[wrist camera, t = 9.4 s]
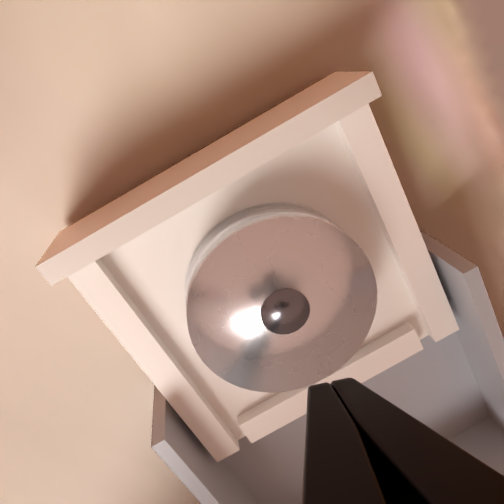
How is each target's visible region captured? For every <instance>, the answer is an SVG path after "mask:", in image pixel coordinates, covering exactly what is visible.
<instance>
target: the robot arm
mask: <svg viewBox="0 0 504 504" xmlns="http://www.w3.org/2000/svg"><path fill="white" fill-rule="evenodd" d="M301 504H504V475H502V474H501V473H499V472H498V471H496V470H494V469H493V468H491V467H490V466H488V465H487V464H485V463H484V462H482V461H481V460H479V459H477V458H476V457H474V456H473V455H471V454H470V453H468V452H467V451H465V450H464V449H462V448H460V447H459V446H457V445H456V444H454V443H453V442H451V441H450V440H448V439H447V438H445V437H443V436H442V435H440V434H439V433H437V432H436V431H434V430H433V429H431V428H430V427H428V426H426V425H425V424H423V423H422V422H420V421H419V420H417V419H416V418H414V417H413V416H411V415H409V414H408V413H406V412H405V411H403V410H402V409H400V408H399V407H397V406H396V405H394V404H392V403H391V402H389V401H388V400H386V399H385V398H383V397H382V396H380V395H379V394H377V393H375V392H374V391H372V390H371V389H369V388H368V387H366V386H365V385H363V384H362V383H360V382H358V381H357V380H355V379H354V378H344V379H339V380H334V381H332V382H331V384H330V383H327V382H325V383H320V384H315V385H311V386H309V387H308V394H307V412H306V430H305V448H304V466H303V484H302V502H301Z"/></svg>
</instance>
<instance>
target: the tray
mask: <svg viewBox="0 0 504 504" xmlns="http://www.w3.org/2000/svg"><path fill="white" fill-rule="evenodd" d="M381 96H382V94H381V92H380V89H379V86H378V84H377V81H376V79H375V76H374V73H373V71H352V72H334V73H332V74H330V75H328V76H327V77H325V78H323V79H321V80H320V81H318V82H316V83H315V84H313V85H311V86H309V87H308V88H306V89H304V90H303V91H301V92H299V93H297V94H296V95H294V96H292V97H291V98H289V99H287V100H285V101H284V102H282V103H280V104H278V105H277V106H275V107H273V108H272V109H270V110H268V111H266V112H265V113H263V114H261V115H260V116H258V117H256V118H254V119H253V120H251V121H249V122H248V123H246V124H244V125H242V126H241V127H239V128H237V129H236V130H234V131H232V132H230V133H229V134H227V135H225V136H223V137H222V138H220V139H218V140H217V141H215V142H213V143H211V144H210V145H208V146H206V147H205V148H203V149H201V150H199V151H198V152H196V153H194V154H193V155H191V156H189V157H187V158H186V159H184V160H182V161H180V162H179V163H177V164H175V165H174V166H172V167H170V168H168V169H167V170H165V171H163V172H162V173H160V174H158V175H156V176H155V177H153V178H151V179H150V180H148V181H146V182H144V183H143V184H141V185H139V186H137V187H136V188H134V189H132V190H131V191H129V192H127V193H125V194H124V195H122V196H120V197H119V198H117V199H115V200H113V201H112V202H110V203H108V204H107V205H105V206H103V207H101V208H100V209H98V210H96V211H94V212H93V213H91V214H89V215H88V216H86V217H84V218H82V219H81V220H79V221H77V222H76V223H74V224H72V225H70V226H69V227H67V228H65V229H64V230H62V231H60V232H59V233H58V235H57V236H56V238H55V239H54V241H53V242H52V243H51V245H50V246H49V248H48V249H47V251H46V252H45V253H44V255H43V256H42V258H41V259H40V261H39V262H38V263H37V265H36V266H35V268H36V269H37V270H38V271H39V273H40V274H41V275H42V276H43V277H44V278H45V280H46V281H47V282H48V283H49V284H50V286H53V285H55V284H56V283H58V282H60V281H61V280H63V279H65V278H68V279H69V280H70V281H71V283H72V284H73V285H74V286H75V288H76V289H77V290H78V291H79V292H80V294H81V295H82V296H83V297H84V299H85V300H86V301H87V302H88V304H89V305H90V306H91V307H92V308H93V310H94V311H95V312H96V313H97V315H98V316H99V317H100V318H101V320H102V321H103V322H104V323H105V325H106V326H107V327H108V328H109V329H110V331H111V332H112V333H113V334H114V336H115V337H116V338H117V339H118V341H119V342H120V343H121V344H122V345H123V347H124V348H125V349H126V350H127V352H128V353H129V354H130V355H131V357H132V358H133V359H134V360H135V362H136V363H137V364H138V365H139V366H140V368H141V369H142V370H143V371H144V373H145V374H146V375H147V376H148V378H149V379H150V380H151V381H152V382H153V384H154V385H155V386H156V387H157V389H158V390H159V391H160V392H161V394H162V395H163V396H164V397H165V398H166V400H167V401H168V402H169V403H170V405H171V406H172V407H173V408H174V410H175V411H176V412H177V413H178V415H179V416H180V417H181V418H182V419H183V421H184V422H185V423H186V424H187V426H188V427H189V428H190V429H191V431H192V432H193V433H194V434H195V435H196V437H197V438H198V439H199V440H200V442H201V443H202V444H203V445H204V447H205V448H206V449H207V450H208V452H209V453H210V454H211V455H212V456H213V458H214V459H215V460H216V461H217V462H219V461H221V460H223V459H224V458H226V457H228V456H230V455H232V454H233V453H235V452H237V451H239V450H240V448H239V443H238V440H239V439H241V438H243V437H244V436H246V437H247V438H248V439H249V441H250V442H251V443H254V442H255V441H257V440H259V439H261V438H263V437H264V436H266V435H268V434H270V433H272V432H274V431H275V430H277V429H279V428H281V427H283V426H284V425H286V424H288V423H290V422H292V421H294V420H295V419H297V418H299V417H301V416H303V415H305V414H306V412H307V394H308V387H309V386H311V385H309V386H306V387H303V388H300V389H296V390H291V391H286V392H274V393H272V392H258V391H251V390H247V389H244V388H240V387H238V386H235V385H233V384H231V383H229V382H227V381H225V380H223V379H222V378H220V377H219V376H217V375H216V374H215V373H214V372H212V371H211V370H210V369H209V368H208V367H207V366H206V365H205V364H204V362H203V361H202V360H201V358H200V357H199V355H198V354H197V352H196V350H195V348H194V346H193V344H192V341H191V338H190V335H189V331H188V325H187V317H186V304H185V280H186V274H187V270H188V267H189V263H190V261H191V259H192V256H193V254H194V252H195V251H196V249H197V247H198V246H199V244H200V243H201V241H202V240H203V239H204V238H205V236H206V235H207V234H208V233H209V232H210V231H211V230H212V229H213V228H214V227H215V226H216V225H218V224H219V223H220V222H222V221H223V220H224V219H226V218H227V217H229V216H231V215H233V214H234V213H236V212H238V211H241V210H243V209H246V208H248V207H252V206H256V205H260V204H266V203H291V204H297V205H301V206H305V207H308V208H310V209H313V210H315V211H317V212H319V213H321V214H322V215H324V216H326V217H327V218H329V219H330V220H331V221H332V222H333V223H335V224H336V225H337V226H338V227H339V228H340V229H342V230H343V231H344V232H345V233H346V234H347V235H348V236H350V237H351V238H352V239H353V240H354V241H355V242H356V243H357V244H358V245H359V246H360V248H361V249H362V250H363V252H364V253H365V255H366V256H367V258H368V259H369V262H370V264H371V266H372V268H373V271H374V275H375V278H376V285H377V306H376V313H375V316H374V320H373V323H372V326H371V328H370V330H369V333H368V335H367V336H366V338H365V340H364V342H363V343H362V345H361V346H360V347H359V349H358V350H357V351H356V353H355V354H354V355H353V356H352V357H351V358H350V359H349V360H348V361H347V362H346V363H345V364H344V365H343V366H342V367H341V368H339V369H338V370H337V371H335V372H334V373H332V374H331V375H330V376H328V377H326V378H324V379H322V380H321V381H319V382H316V383H314V384H312V385H315V384H320V383H325V382H327V383H330V384H331V382H332V381H334V380H339V379H344V378H354V379H355V380H357V381H358V382H360V383H363V382H365V381H366V380H368V379H370V378H372V377H374V376H376V375H377V374H379V373H381V372H383V371H385V370H386V369H388V368H390V367H392V366H394V365H396V364H397V363H399V362H401V361H403V360H405V359H406V358H408V357H410V356H412V355H414V354H416V353H417V352H419V351H421V350H423V346H422V344H421V342H420V340H421V339H423V338H424V337H426V336H428V335H429V336H430V337H431V338H432V339H433V340H434V341H435V342H437V341H439V340H441V339H443V338H445V337H447V336H448V335H450V334H452V333H454V332H456V331H457V330H459V327H458V325H457V322H456V320H455V317H454V315H453V312H452V310H451V307H450V305H449V302H448V300H447V297H446V295H445V292H444V290H443V287H442V285H441V282H440V280H439V277H438V275H437V272H436V270H435V267H434V265H433V262H432V260H431V257H430V255H429V252H428V250H427V247H426V245H425V243H424V240H423V238H422V235H421V233H420V230H419V228H418V225H417V223H416V220H415V218H414V215H413V213H412V210H411V208H410V205H409V203H408V200H407V198H406V195H405V193H404V190H403V188H402V185H401V183H400V180H399V178H398V175H397V173H396V170H395V168H394V165H393V163H392V160H391V158H390V155H389V153H388V150H387V148H386V146H385V143H384V141H383V138H382V136H381V133H380V131H379V128H378V126H377V123H376V121H375V118H374V116H373V113H372V111H371V108H370V106H369V103H370V102H372V101H374V100H375V99H377V98H379V97H381Z"/></svg>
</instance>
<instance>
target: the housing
mask: <svg viewBox="0 0 504 504" xmlns="http://www.w3.org/2000/svg"><path fill="white" fill-rule="evenodd" d="M421 235H422V238H423V240H424V243H425V245H426V247H427V250H428V252H429V255H430V257H431V260H432V262H433V265H434V267H435V270H436V272H437V275H438V277H439V280H440V282H441V285H442V287H443V290H444V292H445V295H446V297H447V300H448V302H449V305H450V307H451V310H452V312H453V315H454V317H455V320H456V322H457V325H458V327H459V330H457V331H456V332H454V333H452V334H450V335H448V336H447V337H445V338H443V339H441V340H439V341H437V342H435V341H434V340H433V339H432V338H431V337H430V336H429V335H428V336H426V337H424V338H423V339H421V340H420V342H421V344H422V346H423V350H421V351H419V352H417V353H416V354H414V355H412V356H410V357H408V358H406V359H405V360H403V361H401V362H399V363H397V364H396V365H394V366H392V367H390V368H388V369H386V370H385V371H383V372H381V373H379V374H377V375H376V376H374V377H372V378H370V379H368V380H366V381H365V382H363V383H362V384H363V385H365V386H366V387H368V388H369V389H371V390H372V391H374V392H375V393H377V394H379V395H380V396H382V397H383V398H385V399H386V400H388V401H389V402H391V403H392V404H394V405H396V406H397V407H399V408H400V409H402V410H403V411H405V412H406V413H408V414H409V415H411V416H413V417H414V418H416V419H417V420H419V421H420V422H422V423H423V424H425V425H426V426H428V427H430V428H431V429H433V430H434V431H436V432H437V433H439V434H440V435H442V436H443V437H445V438H447V439H448V440H450V441H451V442H453V443H454V444H456V445H457V446H459V447H460V448H462V449H464V450H465V451H467V452H468V453H470V454H471V455H473V456H474V457H476V458H477V459H479V460H481V461H482V462H484V463H485V464H487V465H488V466H490V467H491V468H493V469H494V470H496V471H498V472H499V473H501V474H502V475H504V338H503V335H502V333H501V330H500V327H499V324H498V321H497V318H496V316H495V313H494V310H493V307H492V304H491V302H490V299H489V296H488V293H487V290H486V287H485V285H484V282H483V279H482V276H481V273H480V270H479V268H478V266H477V265H476V264H474V263H472V262H471V261H469V260H468V259H466V258H464V257H463V256H461V255H460V254H458V253H457V252H455V251H453V250H452V249H450V248H449V247H447V246H445V245H444V244H442V243H441V242H439V241H437V240H436V239H434V238H433V237H431V236H430V235H428V234H426V233H425V232H421ZM305 430H306V414H305V415H303V416H301V417H299V418H297V419H295V420H294V421H292V422H290V423H288V424H286V425H284V426H283V427H281V428H279V429H277V430H275V431H274V432H272V433H270V434H268V435H266V436H264V437H263V438H261V439H259V440H257V441H255V442H254V443H251V442H250V441H249V439H248V438H247V437H246V436H244V437H243V438H241V439H239V440H238V443H239V448H240V450H239V451H237V452H235V453H233V454H232V455H230V456H228V457H226V458H224V459H223V460H221V461H219V462H217V461H216V460H215V459H214V458H213V456H212V455H211V454H210V453H209V452H208V450H207V449H206V448H205V447H204V445H203V444H202V443H201V442H200V440H199V439H198V438H197V437H196V435H195V434H194V433H193V432H192V431H191V429H190V428H189V427H188V426H187V424H186V423H185V422H184V421H183V419H182V418H181V417H180V416H179V415H178V413H177V412H176V411H175V410H174V408H173V407H172V406H171V405H170V403H169V402H168V401H167V400H166V398H165V397H164V396H163V395H162V394H161V392H160V391H159V390H158V389H157V387H156V386H155V385H154V402H153V421H152V439H151V448H152V449H153V450H154V451H155V452H156V453H157V454H158V456H159V457H160V458H161V459H162V460H163V461H164V462H165V464H166V465H167V466H168V467H169V468H170V469H171V470H172V471H173V473H174V474H175V475H176V476H177V477H178V478H179V479H180V480H181V482H182V483H183V484H184V485H185V486H186V487H187V488H188V490H189V491H190V492H191V493H192V494H193V495H194V496H195V497H196V499H197V500H198V501H199V502H200V503H201V504H301V502H302V484H303V466H304V448H305Z"/></svg>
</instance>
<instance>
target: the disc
mask: <svg viewBox="0 0 504 504" xmlns="http://www.w3.org/2000/svg"><path fill="white" fill-rule="evenodd" d="M185 304H186V317H187V325H188V331H189V335H190V338H191V341H192V344H193V346H194V348H195V350H196V352H197V354H198V355H199V357H200V358H201V360H202V361H203V362H204V364H205V365H206V366H207V367H208V368H209V369H210V370H211V371H212V372H214V373H215V374H216V375H217V376H219V377H220V378H222V379H223V380H225V381H227V382H229V383H231V384H233V385H235V386H238V387H240V388H244V389H247V390H251V391H258V392H272V393H274V392H286V391H291V390H296V389H300V388H303V387H306V386H309V385H312V384H314V383H316V382H319V381H321V380H322V379H324V378H326V377H328V376H330V375H331V374H332V373H334V372H335V371H337V370H338V369H339V368H341V367H342V366H343V365H344V364H345V363H346V362H347V361H348V360H349V359H350V358H351V357H352V356H353V355H354V354H355V353H356V351H357V350H358V349H359V347H360V346H361V345H362V343H363V342H364V340H365V338H366V336H367V335H368V333H369V330H370V328H371V326H372V323H373V320H374V316H375V313H376V306H377V285H376V278H375V275H374V271H373V268H372V266H371V264H370V262H369V259H368V258H367V256H366V255H365V253H364V252H363V250H362V249H361V248H360V246H359V245H358V244H357V243H356V242H355V241H354V240H353V239H352V238H351V237H350V236H348V235H347V234H346V233H345V232H344V231H343V230H342V229H340V228H339V227H338V226H337V225H336V224H335V223H333V222H332V221H331V220H330V219H329V218H327V217H326V216H324V215H322V214H321V213H319V212H317V211H315V210H313V209H310V208H308V207H305V206H301V205H297V204H291V203H266V204H260V205H256V206H252V207H248V208H246V209H243V210H241V211H238V212H236V213H234V214H233V215H231V216H229V217H227V218H226V219H224V220H223V221H222V222H220V223H219V224H218V225H216V226H215V227H214V228H213V229H212V230H211V231H210V232H209V233H208V234H207V235H206V236H205V238H204V239H203V240H202V241H201V243H200V244H199V246H198V247H197V249H196V251H195V252H194V254H193V256H192V259H191V261H190V263H189V267H188V270H187V274H186V280H185Z"/></svg>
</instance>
